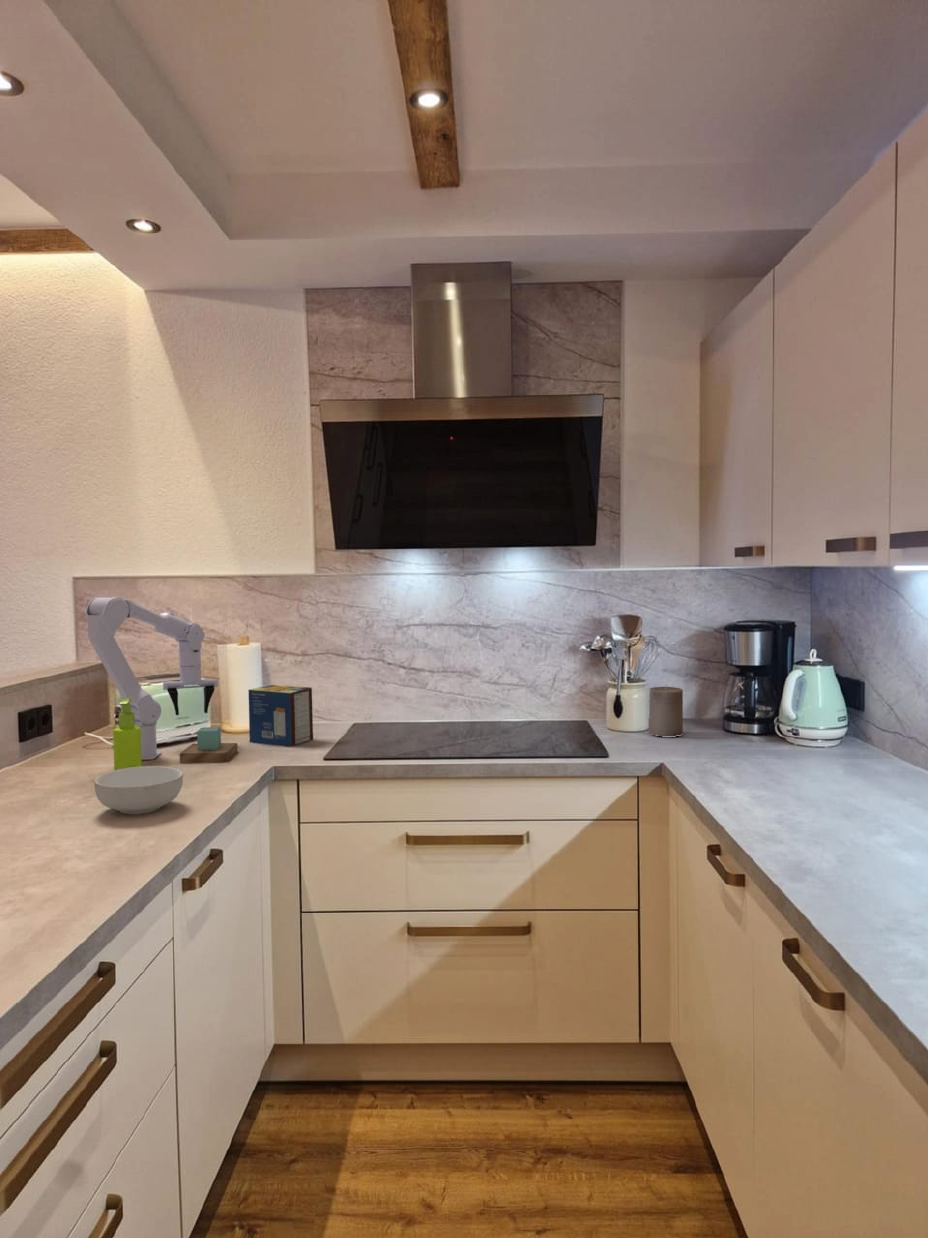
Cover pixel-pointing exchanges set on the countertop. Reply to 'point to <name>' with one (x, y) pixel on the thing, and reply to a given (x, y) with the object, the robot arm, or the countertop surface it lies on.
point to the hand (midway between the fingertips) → (191, 713)
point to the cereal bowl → (138, 788)
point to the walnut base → (208, 754)
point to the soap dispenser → (127, 739)
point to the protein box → (280, 715)
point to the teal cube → (209, 738)
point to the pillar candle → (666, 711)
